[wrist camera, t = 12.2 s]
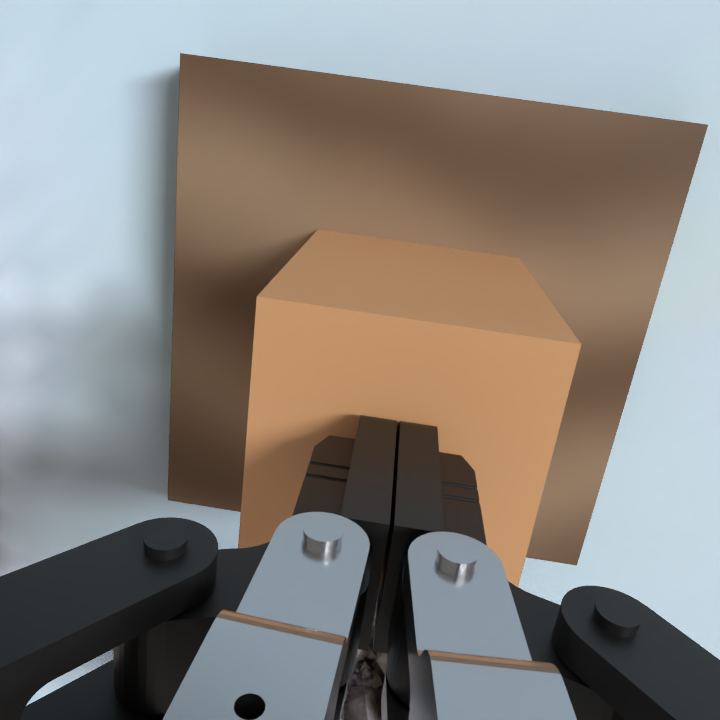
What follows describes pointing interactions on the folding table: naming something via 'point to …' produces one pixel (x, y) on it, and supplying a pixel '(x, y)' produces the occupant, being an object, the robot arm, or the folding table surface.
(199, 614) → the robot arm
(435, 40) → the folding table surface
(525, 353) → the tan wooden cube
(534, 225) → the post board
